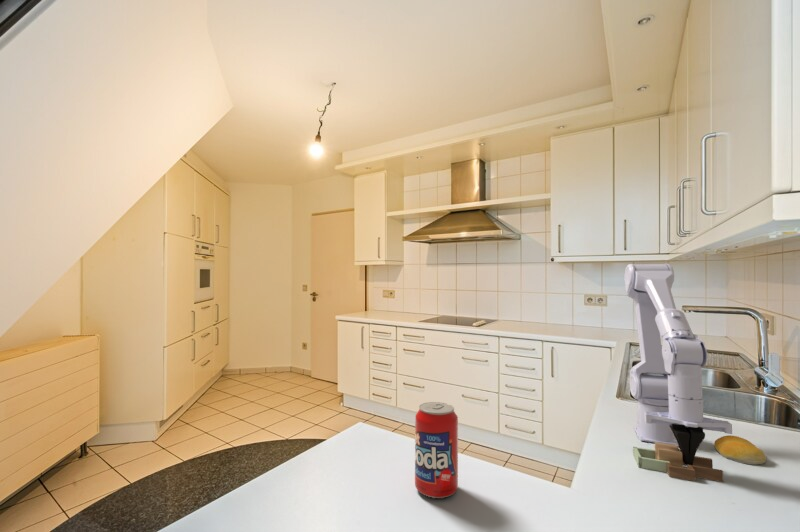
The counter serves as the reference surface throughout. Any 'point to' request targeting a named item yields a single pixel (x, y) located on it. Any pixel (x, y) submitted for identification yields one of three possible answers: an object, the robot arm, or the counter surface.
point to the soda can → (436, 450)
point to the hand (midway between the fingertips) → (687, 463)
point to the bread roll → (739, 450)
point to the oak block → (669, 454)
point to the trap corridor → (699, 468)
